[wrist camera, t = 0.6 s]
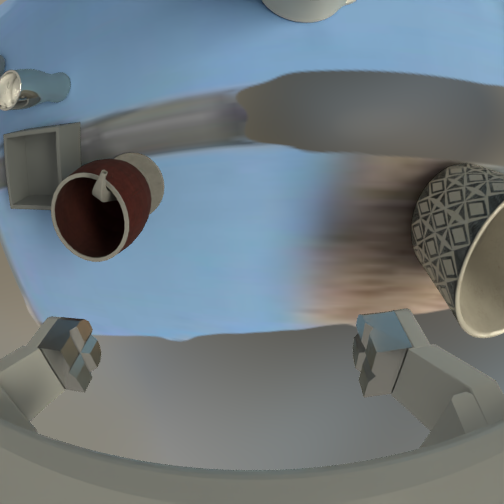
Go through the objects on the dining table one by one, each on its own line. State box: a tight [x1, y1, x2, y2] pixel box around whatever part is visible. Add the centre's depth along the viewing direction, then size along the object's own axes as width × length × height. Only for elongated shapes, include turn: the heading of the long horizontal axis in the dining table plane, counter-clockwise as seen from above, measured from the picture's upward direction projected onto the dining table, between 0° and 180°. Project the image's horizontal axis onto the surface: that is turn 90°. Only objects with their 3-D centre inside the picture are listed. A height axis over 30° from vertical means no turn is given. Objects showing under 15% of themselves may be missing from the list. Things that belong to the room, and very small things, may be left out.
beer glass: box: [0, 69, 71, 111], centre depth 37 cm, size 7×7×15 cm
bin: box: [3, 122, 81, 210], centre depth 47 cm, size 15×15×7 cm
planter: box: [411, 164, 504, 338], centre depth 43 cm, size 26×26×22 cm
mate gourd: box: [51, 153, 164, 262], centre depth 43 cm, size 16×14×20 cm
